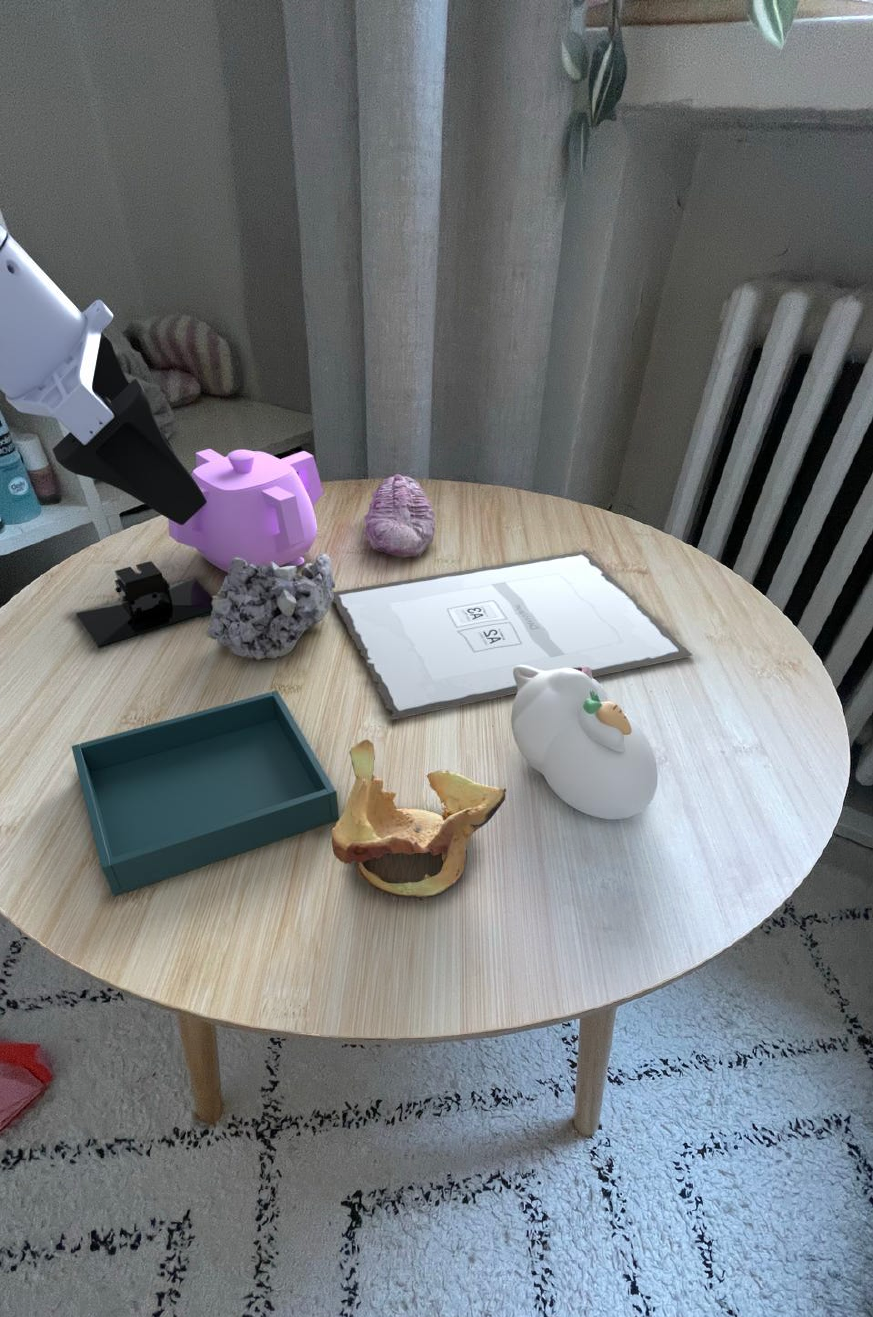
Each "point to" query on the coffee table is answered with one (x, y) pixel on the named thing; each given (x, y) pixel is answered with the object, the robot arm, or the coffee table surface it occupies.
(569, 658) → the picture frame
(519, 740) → the cat figurine
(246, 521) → the pot
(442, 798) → the bone
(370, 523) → the fossil
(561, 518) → the coffee table surface
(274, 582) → the mineral specimen
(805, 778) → the coffee table surface
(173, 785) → the tray
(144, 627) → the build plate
